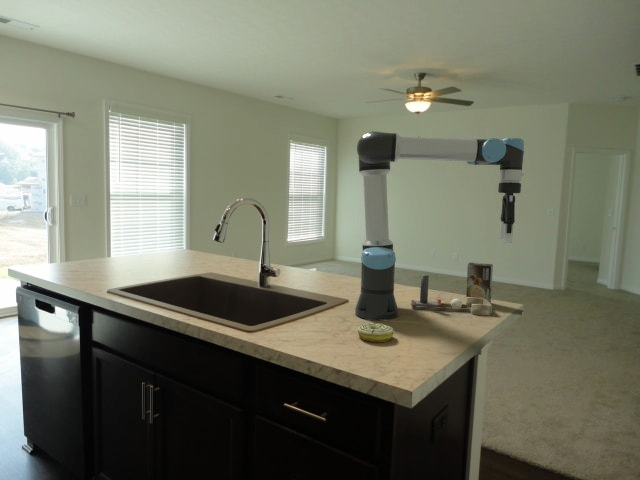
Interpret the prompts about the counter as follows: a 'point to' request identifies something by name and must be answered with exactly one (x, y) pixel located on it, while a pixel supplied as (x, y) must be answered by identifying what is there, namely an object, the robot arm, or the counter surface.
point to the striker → (426, 294)
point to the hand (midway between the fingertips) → (505, 240)
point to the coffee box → (479, 280)
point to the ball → (456, 303)
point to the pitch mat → (444, 311)
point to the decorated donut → (375, 332)
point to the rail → (443, 307)
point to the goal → (479, 306)
